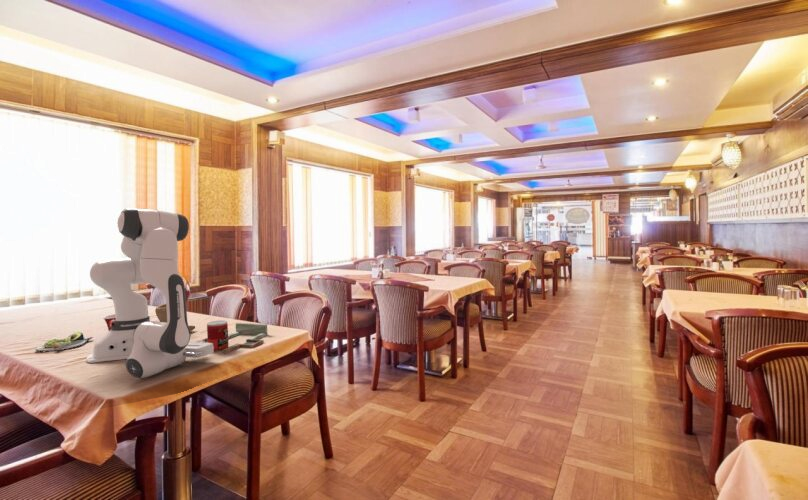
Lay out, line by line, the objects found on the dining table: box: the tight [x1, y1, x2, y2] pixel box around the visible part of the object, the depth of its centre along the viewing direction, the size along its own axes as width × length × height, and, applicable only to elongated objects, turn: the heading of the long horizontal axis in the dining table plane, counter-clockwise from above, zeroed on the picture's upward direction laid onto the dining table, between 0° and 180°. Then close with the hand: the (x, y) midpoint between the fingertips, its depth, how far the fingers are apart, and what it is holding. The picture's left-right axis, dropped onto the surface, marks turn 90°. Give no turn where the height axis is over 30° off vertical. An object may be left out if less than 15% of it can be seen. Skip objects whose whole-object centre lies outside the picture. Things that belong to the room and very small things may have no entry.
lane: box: [199, 322, 268, 354], centre depth 174 cm, size 28×28×5 cm
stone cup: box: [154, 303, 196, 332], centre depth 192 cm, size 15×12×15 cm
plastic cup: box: [102, 313, 116, 332], centre depth 183 cm, size 11×11×12 cm
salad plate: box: [35, 331, 94, 352], centre depth 174 cm, size 19×18×5 cm
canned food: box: [206, 320, 229, 352], centre depth 165 cm, size 8×8×11 cm
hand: (202, 342), depth 157 cm, fingers closed
